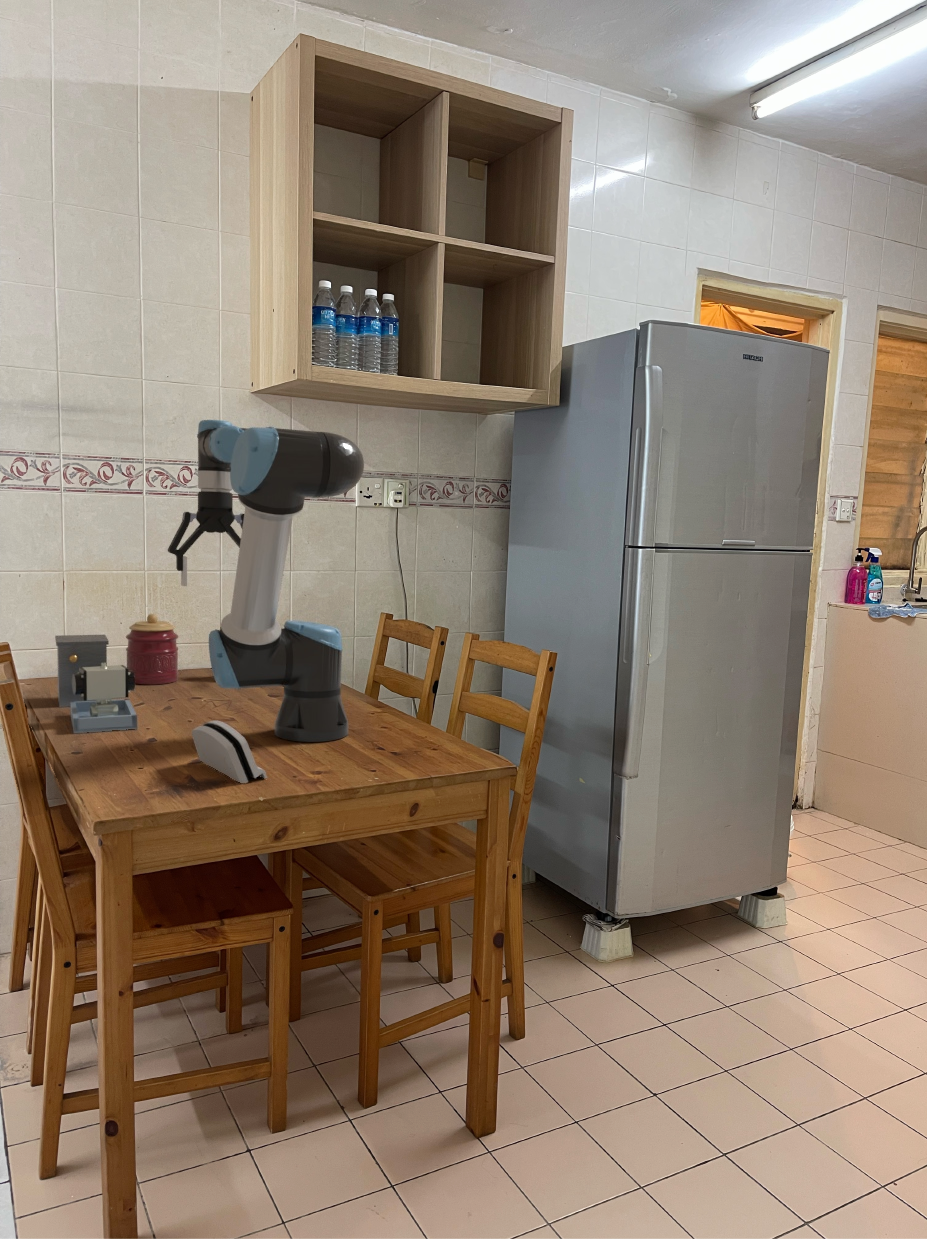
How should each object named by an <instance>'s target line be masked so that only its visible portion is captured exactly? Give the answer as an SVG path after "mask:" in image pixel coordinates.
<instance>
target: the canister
mask: <svg viewBox="0 0 927 1239" xmlns="http://www.w3.org/2000/svg"><path fill="white" fill-rule="evenodd" d="M175 628H176V627H175V626H174V625H173V624H171V623H170V622H168V621H164V620H159V619H158V615H157V614H155V613H149V614H148V616H147V618H146V620H141V621H136V622H134V623H133V624H132V625H130V626H129V629H130V632H129V633H128V634H126V636H125V639H126V640H127V647H126V648H125V651H126V667H127V668H128V671H131V670H132V671H133V672H134V675H135V685H149V686H150V685H164V684H170V683H174V682H176V681H178V677H179V670H178V668H179V667H178V664H179V663H178V658H179V657H178V653H179V647H178V646H177V639H178V638H179V634H177V633H176V632H175V631H174V629H175Z"/></svg>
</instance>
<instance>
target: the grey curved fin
mask: <svg viewBox="0 0 927 1239" xmlns="http://www.w3.org/2000/svg"><path fill="white" fill-rule="evenodd" d="M191 737H192V740H193V742H194V745H195V748H196V752H197V755H198V759H199V762H200V761H202V762H204V763H205V764H207V765H209V766H211V767H213V768H215V769H216V770H218V771H220V772H222V773H224V774H226V775H228V776H229V777H231V778H233V779H235V780H236V781H238V782H240V783H245V784H247V783H249V780H250V778H251V779H252V778H254V779H257V777H259V776H261V777H263V778H268V775H267V773H266V770H265V769H263V768H261V767H260V766H258V765H257V763H256V761H255V758H254V756H253V753H252V751H251V748H250V746H249V743H248V741H247V740H246V738H245V737H244V736H243V735H242V734H241V733H240V732H239V731H237V730H236V729H235V728H234V727H232V726H231V725H229V724H227V723H226V722H224V721H220V720H210V721H207V722H203V724H202V725H198V726H196V727H194V729H192V730H191ZM202 762H201V763H202ZM204 763H203V764H204ZM205 764H204V765H205ZM207 765H206V766H207ZM209 766H208V767H209ZM211 767H210V768H211ZM213 768H212V769H213ZM215 769H214V770H215ZM216 770H215V771H216ZM218 771H217V772H218ZM220 772H219V773H220ZM222 773H221V774H222ZM224 774H223V775H224ZM229 777H228V778H229ZM261 777H260V778H261ZM231 778H230V779H231ZM263 778H262V779H263ZM233 779H232V780H233ZM235 780H234V781H235ZM236 781H235V782H236ZM238 782H237V783H238ZM240 783H239V784H240Z"/></svg>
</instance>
